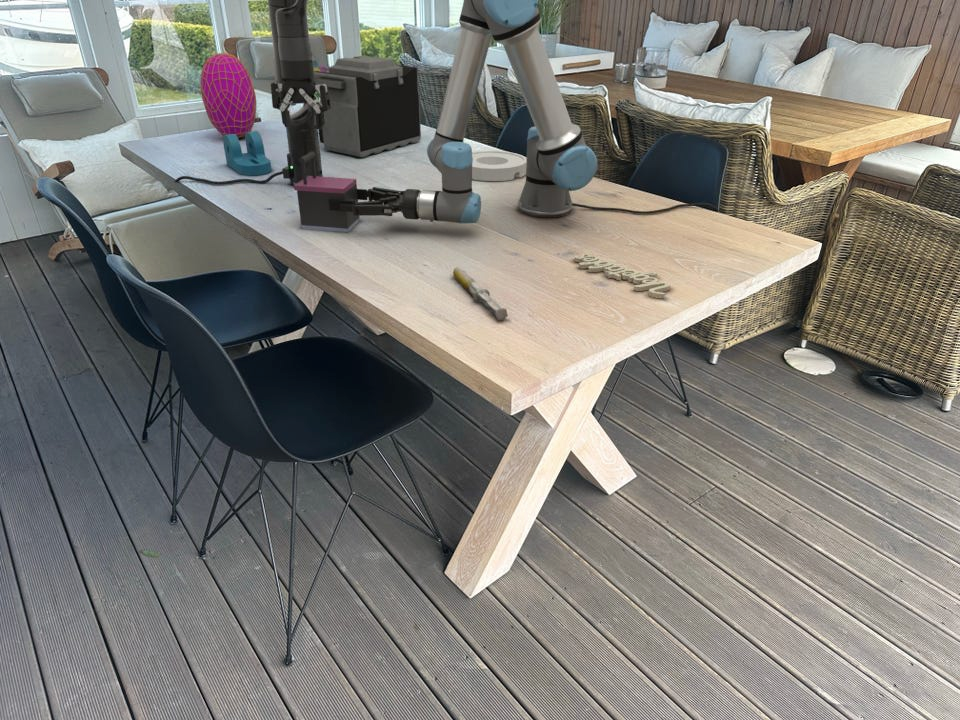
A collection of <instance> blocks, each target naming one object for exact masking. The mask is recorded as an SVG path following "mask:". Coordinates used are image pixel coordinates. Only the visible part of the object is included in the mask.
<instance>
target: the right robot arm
mask: <svg viewBox="0 0 960 720" xmlns="http://www.w3.org/2000/svg"><path fill="white" fill-rule="evenodd" d="M538 5H539V0H463V3H462V6H461V7H462V8H461V12H460V15H459V18H458V19H459V20H458V23H459V25H460V27H461V29H460V34H459V38H458V41H457V46H456V50H455V53H454V58H453V61H452V65H451V69H450V74H449V76H448V81H447V85H446V89H445V92H444V97H443V101H442V105H441V109H440V113H439V117H438V120H437V121H438V122H437V125H436V129H435V134H434V135H433V136H434V137H433V138H432V139H431V140H430V141H429V143H428V145H427V148H426V154H427V157H428V161H430V163H431V164H432V166H433V167H434V168H436V169H437V170H438V171H439V173H440V174H441V190H435V189H434V190H432V189H421V190H420V189H418V188H417V189H415V188H406V189H405V190H397V189H390V188H383V187H376V186H373V187H372V188H368V189H365V188H357V195H358V202H355V200H352V201H351V200H337V199H329V209H330V210H334V211H347V212H353V215H354V216H359V217H360V216H361V217H363V216H366V217H367V216H369V217H371V216H374V217H375V216H383V217H393V214H397V213H398V212H400V213H402V216H403V218H404V219H406V220H419V219H420V220H422V221H429V223H434V222H444V223H445V222H447V223H454V224H455V223H456V224H476V223H477V222H478V221H479V220H480V217H481V212H482V198H481V195H480V194H479V193H477V192H476V193H475V192H473V179H472V162H473V157H472V152H473V149H472V146H471V145H470V144H469V143H467V142H464V139H465V136H466V133H467V128H468V125H469V121H470V118H471V113H472V110H473V107H474V103H475V99H476V95H477V92H478V88H479V85H480V82H481V77H482V74H483V71H484V66H485V63H486V60H487V56H488V51H489V48H490V44H491V40H492V38H493V41H494V42H495V43H497V44H500V45H502V46H503V47H504V51H505V54H506V56H507V59H508V61H509V64H510V66H511V68H512V72H513V74H514V76H515V80H516V81H517V84H518V87H519V89H520V91H521V95H522V96H523V98H524V99H523V100H524V101H525V104H526V107H527V110H528V112H529V114H530V118H531V120H532V122H533V124H534V126H531V127H530V128H529V129H528V132H527V137H526V159H527V163H526V175H525V182H524V185H523V187H522V191H521V192H520V193H521V194H520V196H519V199H518V200H517V206H518V207H517V209H518V211H519V212H520V213H522V214H523V215H526V216H530V217H535V218H543V219H545V218H548V219H549V218H550V219H551V218H559V217H564V216H568V215H569V214H571V213H572V211H573V207H577V208H583V209H590V210H596V211H613V212H625V213H631V214H636V215H637V214H639V215H650V214H651V215H652V214H657V213H663V212H668V211H671V210H675V209H677V208H678V209H679V208H682V207H697V206H706V207H709V208H711V209H713V210H715V212H720V210H719V208H717V207H716V206H715V205H713V204H711V203H706V202H694V203H680V204H676V205H672V206H669V207H665V208H660V209H656V210H643V211H642V210H633V209H627V208H621V207H620V208H619V207H601V206H600V207H599V206H590V205H585V204H580V203H573V201H572V197H571V193H570V192H572V191H574V192H576V191H578V190H581V189H583V188H585V187H586V186H587V185H588V184H589V183H590V182H591V181H592V180H593V178H594V176H595V174H596V172H597V168H598V160H597V159H598V158H597V156H596V154H595V152H594V151H593V150H592V148H591V147H589V146H588V145H587V144H586V140H585V138H584V135H583V132H582V130H581V127H580V126H579V125H578V124H575V123H572V121H571V117H570V114H569V111H568V110H567V107H566V103H565V101H564V98H563V95H562V92H561V89H560V86H559V83H558V80H557V78H556V76H555V72H554V70H553V68H552V64H551V62H550V59H549V56H548V52H547V51H546V48H545V45H544V42H543V38H542V36H541V34H540V30H539V27H540V24H541V21H542V16H541V13H540V11H539V8H538Z"/></svg>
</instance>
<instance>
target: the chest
mask: <svg viewBox="0 0 960 720" xmlns="http://www.w3.org/2000/svg"><path fill="white" fill-rule="evenodd" d="M357 184H358V183H357ZM357 184H356V185H354V186H353V187H352V188H351V189H349V190H348V191H347V192H346V193H345V194H340V193H326V192H311V191H297V190H296V194H297V195H296V196H297V203H298V211H299V218H300V227H301V230H312V231H313V230H315V231H324V232H325V231H327V232H341V233H349V232H350V231H351V230H352V229H353V228H354V227H356V225H357V224H358V223H360V221H361V218H360V216H354V215H353V212H347V211H334V210H330V209H329V199H337V200H351V201H352V200H355V202H359V200H358V195H357V189H358V185H357Z"/></svg>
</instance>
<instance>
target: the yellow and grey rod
mask: <svg viewBox="0 0 960 720" xmlns="http://www.w3.org/2000/svg"><path fill="white" fill-rule="evenodd" d="M452 274H453V277H454V279H455V280H457V281H458V282H459V283H460V285H462V287H464V289H466V290H467V291H468V293H470V295H471V296H472V298H473V300H474V302H477V303H478V302H480V303H482V304H483V305H484V306H485V307H486V308H487V309H488V310H489V311H490V312H491V313H492V314H493V315H494V316H495V317H496V320H497V321H503V320H504V319H506V318H507V317H509V314H508V310H507V308H506V307H502V306H501V305H500V303H498V302H497V301H496V300H494V299H493V298H492V297H491V296H490V295H491V293H490V290H488V289H486V288H483V287H482V286H481V285H480V284H479V283H478V282H477V281H476V280H474V278H473V277H471V275H469V274H468V273H467V272H466V270H465V269H464V268H463V267H462V266H456V267H454V268H453V271H452Z"/></svg>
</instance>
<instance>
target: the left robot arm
mask: <svg viewBox="0 0 960 720" xmlns="http://www.w3.org/2000/svg"><path fill="white" fill-rule="evenodd" d="M308 3H309V0H267V8H268V16H269V17H268V18H269V25H270V32H271V38H272V39H271V40H272V49H273V50H272V51H273V68H274V69H273V71H274V82H271V83H270V90H271V91H270V93H271V104H272V105H271V106H272V108H273V109H275V110H279V112H280V116H281V120H282V121H281V122H282V125H284V127H285V131H286V138H287V146H288V153H287V154H286V161H287V166H285V167H283V168H282V170H281V171H277V172H274V173H273V174H271V175H269V177H267V178H266V179H262V180H258V179H257V180H256V179H252V178H237V179H231V180H223V181H222V180H221V181H217V180H210V179H206V178H199V177H194V176H189V175H181V176H179V177H176V179H175V180H174V183H179V182H180V181H182V180H190V181H195V182H201V183H205V184H211V185H216V186H217V185H218V186H219V185H221V186H223V185H231V184H236V183H253V184H266V183H269V182H270V181H271V180H273V179H274V178H275V177H277V176H281V175H282V177H283V179H285V180H287V179H288V180H289V184H290V186H294V185H295V184H297V183H298V182H300V181H301V180H303V174H302V165H301V163H300V162H299V159H300V158H302V157H303V156H305V155H307V154H308V153H310V152H314V153H315V157H314V162H315V170H316V176H319V177H324V175H323V167H322V157H321V147H320V139H319V130H318V129H322V128H323V126H324V125H325V120H324V112H325V111H327V110H329V109H331V104H330V97H329V90H328V85H327V84H322V85H316V84H315V81H314V70H313V60H314V59H313V51H312V45H311V44H312V43H311V40H310V36H309V35H310V33H309V24H308ZM316 90H317V91H318V93H319V94H320V95H321V101H322V105H321V103H320V98H319V99H318V98H317V97H316V95H315V93H316ZM298 104H299V105H300V104H302V107H301V108H300V109H299V110H297V111H296V112H294V113H292V114H290V113H291V112H290V110H289V108H290V107H291V105H298ZM316 112H317V113H316ZM305 169H306V177H307V176H313V174H312V165H311V160H309V161H308V162H306V163H305Z"/></svg>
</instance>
